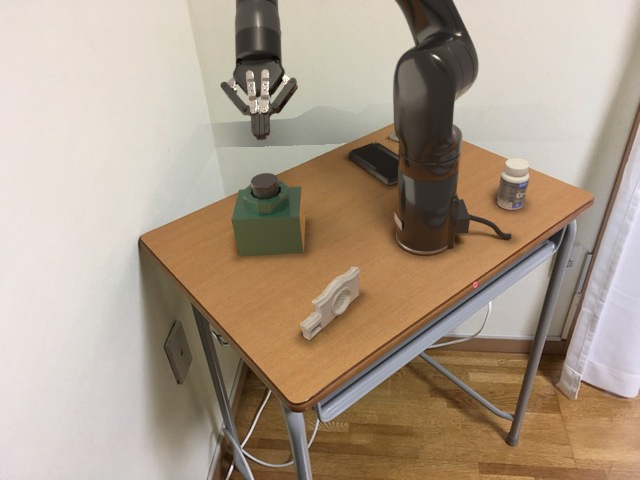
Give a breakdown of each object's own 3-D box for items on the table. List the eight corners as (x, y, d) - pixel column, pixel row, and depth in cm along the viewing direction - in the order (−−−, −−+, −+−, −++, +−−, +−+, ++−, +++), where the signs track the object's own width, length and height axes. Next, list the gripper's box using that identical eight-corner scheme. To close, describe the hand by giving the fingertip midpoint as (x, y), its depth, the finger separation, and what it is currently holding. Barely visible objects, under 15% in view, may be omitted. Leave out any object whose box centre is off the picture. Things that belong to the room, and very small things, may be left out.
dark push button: (280, 185, 87) (278, 172, 86) (278, 199, 84) (276, 186, 82) (254, 186, 87) (252, 173, 86) (251, 201, 84) (249, 187, 82)
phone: (376, 141, 114) (420, 169, 104) (376, 145, 115) (420, 173, 105) (346, 152, 111) (388, 181, 101) (346, 156, 112) (388, 186, 102)
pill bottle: (517, 213, 92) (526, 173, 87) (492, 206, 94) (499, 165, 89) (527, 201, 95) (536, 160, 90) (502, 193, 97) (509, 154, 92)
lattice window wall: (309, 343, 72) (306, 314, 68) (300, 337, 73) (296, 308, 69) (362, 294, 79) (361, 265, 75) (352, 289, 80) (351, 261, 76)
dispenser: (305, 221, 95) (300, 174, 88) (303, 253, 88) (298, 204, 81) (245, 224, 95) (236, 178, 89) (239, 256, 88) (228, 208, 82)
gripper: (212, 27, 82) (214, 133, 80) (295, 21, 81) (300, 128, 79) (223, 50, 89) (225, 147, 87) (300, 44, 89) (304, 143, 87)
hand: (261, 138), depth 83 cm, fingers closed
